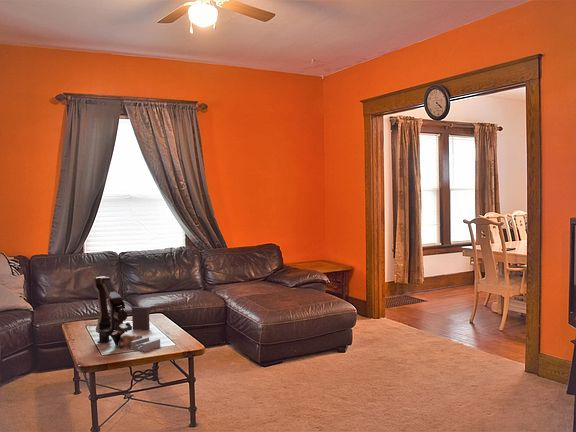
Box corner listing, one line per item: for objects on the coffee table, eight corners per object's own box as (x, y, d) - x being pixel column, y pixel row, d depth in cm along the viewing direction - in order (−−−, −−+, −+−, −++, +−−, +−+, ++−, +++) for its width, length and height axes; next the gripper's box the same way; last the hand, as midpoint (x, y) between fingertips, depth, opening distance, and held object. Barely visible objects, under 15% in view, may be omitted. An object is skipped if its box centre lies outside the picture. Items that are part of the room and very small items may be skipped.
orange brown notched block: (125, 348, 309) (125, 338, 309) (115, 346, 314) (114, 336, 314) (135, 345, 315) (134, 335, 315) (124, 343, 320) (124, 333, 320)
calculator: (150, 329, 354) (149, 306, 353) (146, 330, 349) (146, 308, 349) (135, 328, 357) (134, 306, 356) (132, 330, 352) (131, 307, 352)
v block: (144, 351, 302) (144, 344, 302) (131, 348, 308) (130, 341, 308) (160, 346, 312) (160, 339, 312) (147, 343, 318) (146, 336, 318)
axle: (120, 349, 310) (122, 343, 309) (116, 346, 312) (117, 340, 311) (142, 342, 323) (143, 337, 323) (137, 339, 325) (139, 334, 325)
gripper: (111, 323, 297) (112, 351, 297) (138, 316, 313) (138, 343, 313) (98, 321, 303) (99, 348, 304) (125, 314, 319) (126, 340, 319)
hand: (116, 345), depth 310 cm, fingers closed
